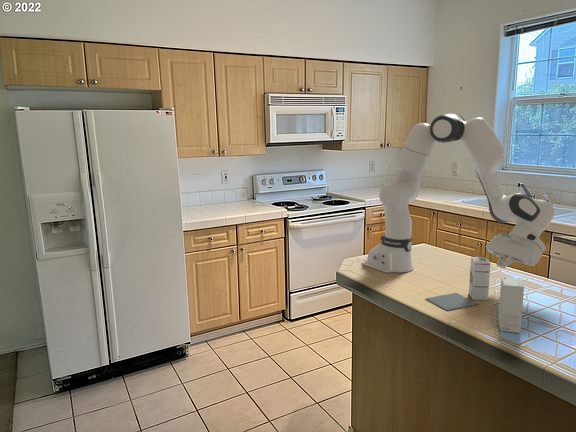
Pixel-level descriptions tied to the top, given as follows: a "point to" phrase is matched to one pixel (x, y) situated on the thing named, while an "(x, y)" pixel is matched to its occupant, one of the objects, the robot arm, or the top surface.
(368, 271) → the top surface
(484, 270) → the syrup box
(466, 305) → the mat
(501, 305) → the skincare box
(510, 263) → the robot arm
